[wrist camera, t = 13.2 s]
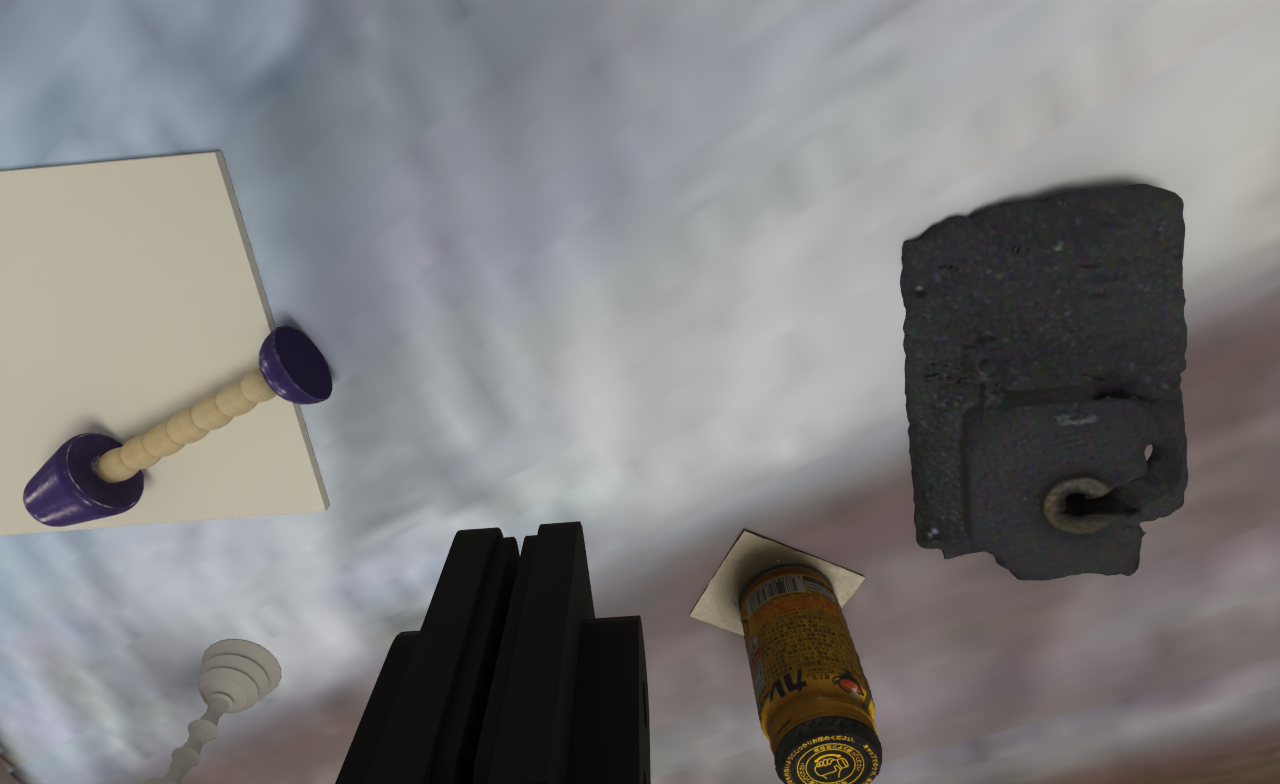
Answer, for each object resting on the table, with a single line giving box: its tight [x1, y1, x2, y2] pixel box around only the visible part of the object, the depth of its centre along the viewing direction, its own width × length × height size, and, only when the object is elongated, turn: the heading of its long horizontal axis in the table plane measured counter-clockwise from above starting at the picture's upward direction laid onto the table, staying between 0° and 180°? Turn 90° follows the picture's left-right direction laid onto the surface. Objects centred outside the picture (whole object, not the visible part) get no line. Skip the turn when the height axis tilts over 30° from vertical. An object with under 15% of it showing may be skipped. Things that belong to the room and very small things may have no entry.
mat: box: [0, 151, 330, 535], centre depth 40 cm, size 20×22×1 cm
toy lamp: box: [23, 326, 332, 527], centre depth 39 cm, size 5×5×17 cm
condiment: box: [690, 531, 882, 784], centre depth 42 cm, size 7×8×12 cm
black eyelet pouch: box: [900, 184, 1188, 580], centre depth 40 cm, size 15×22×5 cm
